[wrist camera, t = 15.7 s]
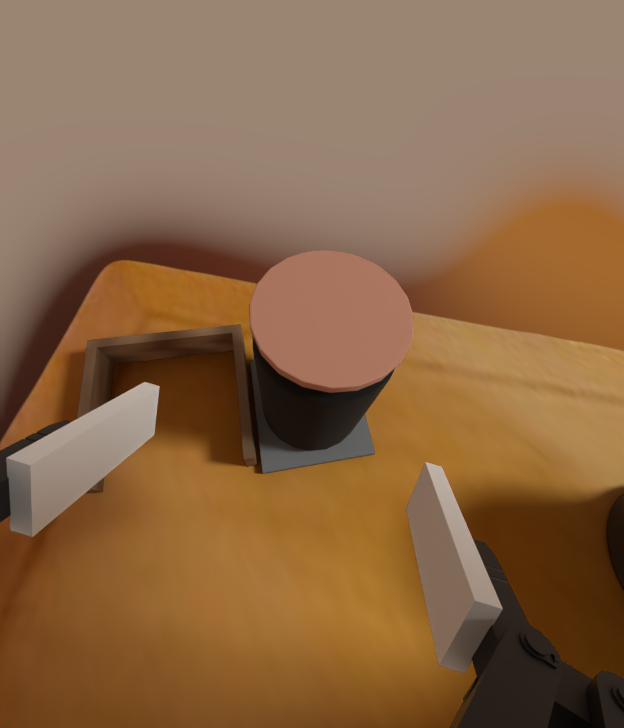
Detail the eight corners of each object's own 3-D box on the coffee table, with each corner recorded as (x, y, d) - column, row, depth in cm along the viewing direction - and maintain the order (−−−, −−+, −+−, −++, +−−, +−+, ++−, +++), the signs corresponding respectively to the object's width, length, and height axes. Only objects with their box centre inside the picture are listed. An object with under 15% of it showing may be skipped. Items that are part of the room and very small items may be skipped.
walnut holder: (244, 342, 41) (240, 324, 37) (257, 464, 34) (254, 457, 31) (105, 357, 38) (87, 340, 35) (91, 493, 32) (67, 488, 28)
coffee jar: (375, 399, 38) (444, 305, 22) (319, 475, 34) (353, 426, 18) (303, 347, 40) (318, 226, 24) (242, 411, 36) (211, 316, 20)
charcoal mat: (346, 351, 41) (347, 348, 41) (373, 454, 36) (375, 453, 35) (250, 363, 40) (250, 360, 39) (263, 473, 34) (262, 472, 33)
